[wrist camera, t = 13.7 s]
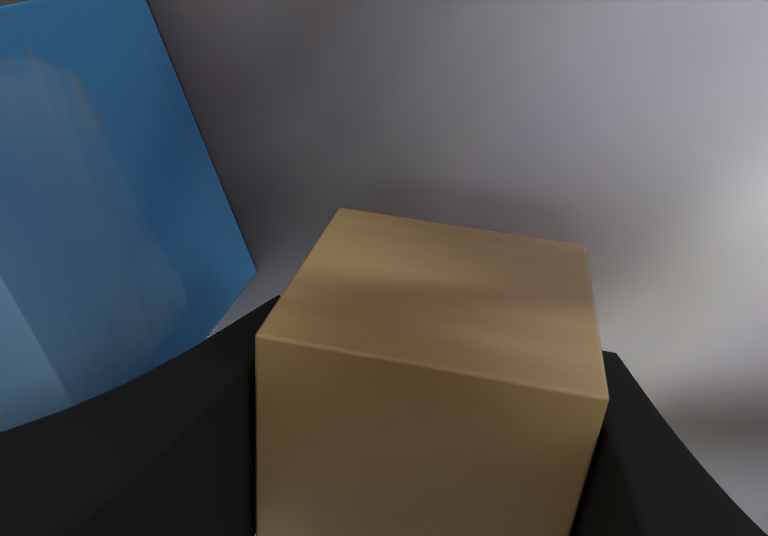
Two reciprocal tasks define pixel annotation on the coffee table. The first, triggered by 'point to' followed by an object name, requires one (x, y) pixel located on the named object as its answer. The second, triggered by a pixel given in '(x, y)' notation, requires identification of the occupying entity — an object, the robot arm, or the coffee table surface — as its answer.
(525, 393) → the block
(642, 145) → the coffee table surface
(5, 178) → the perfume bottle
